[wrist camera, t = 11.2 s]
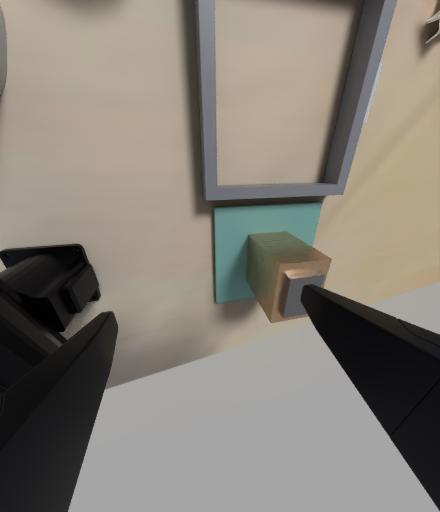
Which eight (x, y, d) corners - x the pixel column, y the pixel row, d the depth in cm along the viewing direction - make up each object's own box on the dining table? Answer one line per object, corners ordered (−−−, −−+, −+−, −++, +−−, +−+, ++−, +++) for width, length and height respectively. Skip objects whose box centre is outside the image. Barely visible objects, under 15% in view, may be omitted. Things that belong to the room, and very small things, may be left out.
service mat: (215, 300, 24) (216, 303, 24) (213, 206, 19) (214, 208, 18) (299, 288, 26) (301, 291, 26) (318, 201, 21) (322, 202, 20)
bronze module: (245, 280, 23) (273, 328, 16) (248, 234, 20) (283, 268, 13) (279, 275, 24) (319, 319, 17) (286, 231, 21) (337, 262, 14)
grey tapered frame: (203, 197, 18) (206, 200, 16) (190, -85, 11) (193, -132, 9) (333, 191, 21) (348, 194, 19) (392, -39, 13) (424, -69, 12)
